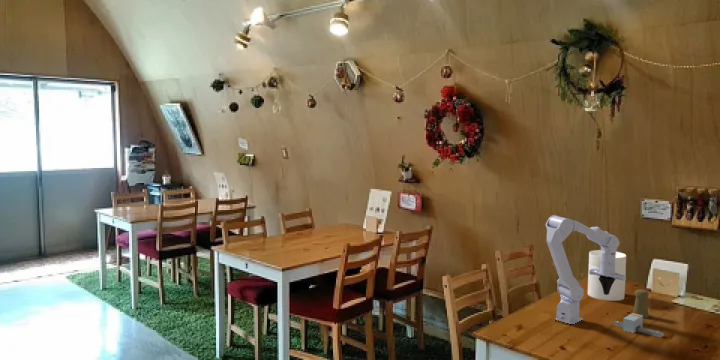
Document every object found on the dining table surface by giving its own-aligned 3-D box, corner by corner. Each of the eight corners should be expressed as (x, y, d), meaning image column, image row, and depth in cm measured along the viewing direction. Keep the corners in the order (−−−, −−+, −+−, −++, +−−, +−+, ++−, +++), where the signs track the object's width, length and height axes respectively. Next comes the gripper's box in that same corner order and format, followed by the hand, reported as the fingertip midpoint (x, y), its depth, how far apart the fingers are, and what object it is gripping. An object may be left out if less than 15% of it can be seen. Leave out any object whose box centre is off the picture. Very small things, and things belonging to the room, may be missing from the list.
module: (633, 333, 215) (634, 320, 215) (622, 330, 218) (623, 317, 218) (642, 327, 221) (642, 314, 221) (631, 325, 224) (632, 312, 224)
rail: (661, 337, 211) (661, 333, 211) (613, 325, 224) (613, 321, 224) (663, 336, 212) (663, 332, 212) (615, 324, 225) (615, 320, 225)
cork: (632, 316, 234) (633, 291, 233) (632, 312, 239) (634, 287, 238) (648, 318, 231) (649, 293, 230) (648, 314, 236) (649, 289, 235)
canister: (580, 292, 268) (581, 251, 266) (607, 289, 273) (609, 249, 271) (604, 302, 253) (605, 259, 251) (632, 298, 258) (634, 256, 256)
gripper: (629, 263, 230) (628, 295, 232) (594, 257, 241) (593, 288, 242) (622, 266, 225) (621, 299, 227) (587, 260, 236) (586, 291, 237)
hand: (606, 294), depth 234 cm, fingers closed
